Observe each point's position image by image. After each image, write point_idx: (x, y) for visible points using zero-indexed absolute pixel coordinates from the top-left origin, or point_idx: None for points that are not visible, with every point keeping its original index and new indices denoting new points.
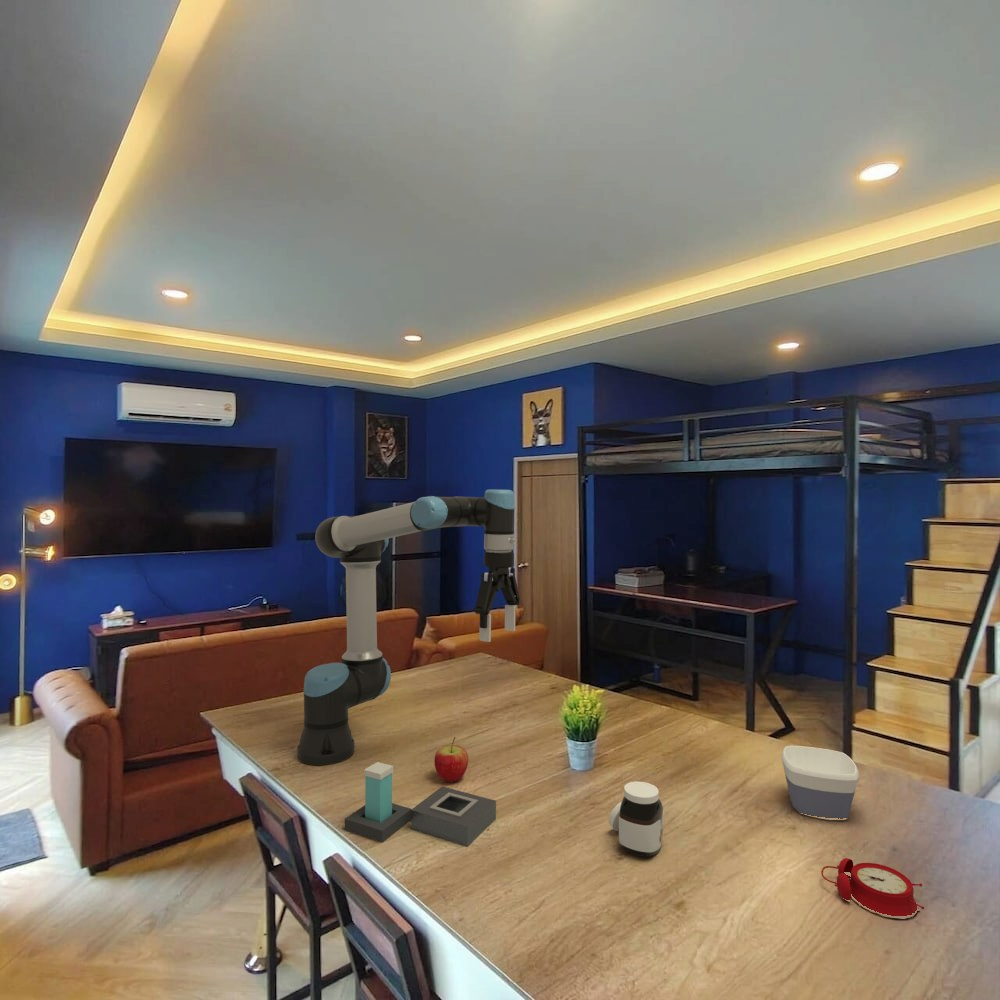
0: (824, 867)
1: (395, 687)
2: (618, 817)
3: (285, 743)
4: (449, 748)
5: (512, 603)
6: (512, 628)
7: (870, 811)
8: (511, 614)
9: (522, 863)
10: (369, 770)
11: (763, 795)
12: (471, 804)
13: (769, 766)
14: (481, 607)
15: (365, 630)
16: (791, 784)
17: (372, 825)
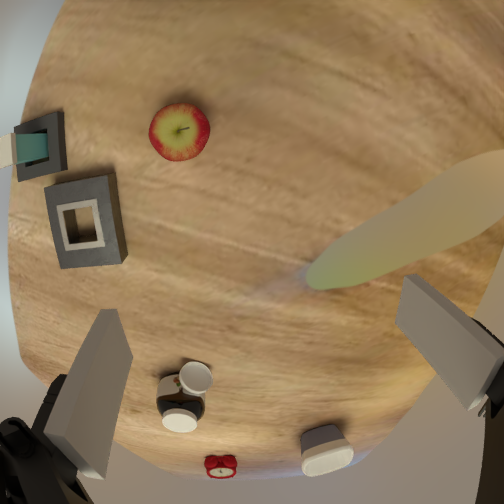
0: (224, 456)
1: None
2: (184, 378)
3: None
4: (183, 122)
5: (494, 396)
6: (402, 322)
7: None
8: (445, 363)
9: (87, 316)
10: None
11: (325, 414)
12: (91, 246)
13: (381, 399)
14: (31, 486)
15: None
16: (308, 447)
17: (18, 164)
